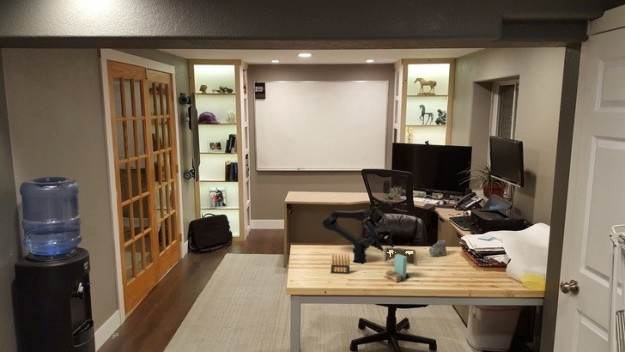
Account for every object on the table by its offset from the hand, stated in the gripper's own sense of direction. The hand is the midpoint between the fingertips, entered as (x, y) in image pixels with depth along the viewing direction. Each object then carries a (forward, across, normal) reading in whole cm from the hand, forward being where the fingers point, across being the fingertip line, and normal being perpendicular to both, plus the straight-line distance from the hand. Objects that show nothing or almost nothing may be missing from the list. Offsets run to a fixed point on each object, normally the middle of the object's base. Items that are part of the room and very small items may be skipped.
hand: (388, 249), depth 249 cm
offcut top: (+15, -9, 0) cm, 18 cm away
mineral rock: (+13, +45, +8) cm, 48 cm away
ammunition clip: (-3, -24, +20) cm, 31 cm away
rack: (+17, -6, +3) cm, 18 cm away
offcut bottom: (+16, -9, +2) cm, 19 cm away
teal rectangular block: (+16, -4, +2) cm, 17 cm away
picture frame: (+2, +24, +17) cm, 30 cm away
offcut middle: (+15, -9, +1) cm, 18 cm away
